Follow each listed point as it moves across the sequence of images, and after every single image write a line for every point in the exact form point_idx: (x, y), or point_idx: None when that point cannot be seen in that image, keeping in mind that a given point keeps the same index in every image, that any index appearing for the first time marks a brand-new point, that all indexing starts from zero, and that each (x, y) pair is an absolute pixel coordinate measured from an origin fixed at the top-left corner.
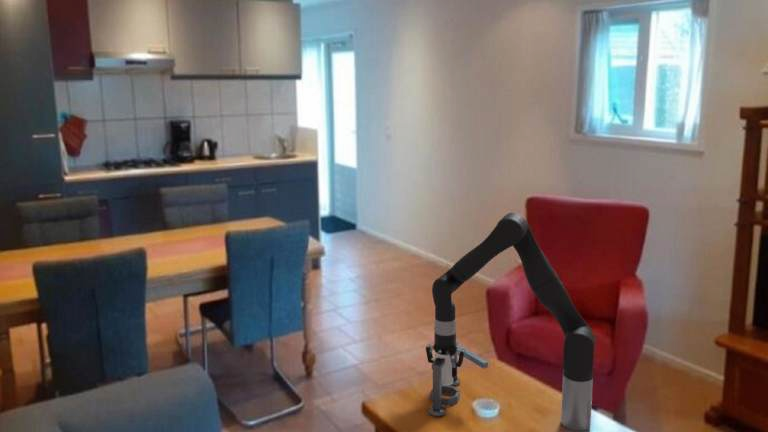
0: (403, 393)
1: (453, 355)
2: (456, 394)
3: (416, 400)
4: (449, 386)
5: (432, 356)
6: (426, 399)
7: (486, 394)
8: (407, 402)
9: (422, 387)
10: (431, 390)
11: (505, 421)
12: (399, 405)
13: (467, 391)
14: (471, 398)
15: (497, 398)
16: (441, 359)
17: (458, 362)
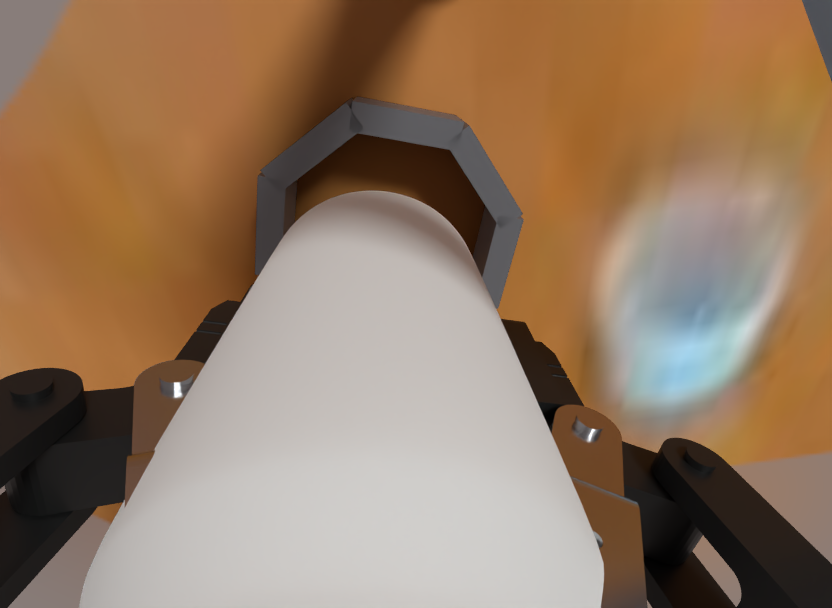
0: (14, 196)
1: (610, 581)
2: (490, 277)
3: (171, 290)
4: (419, 132)
5: (23, 453)
6: (243, 264)
7: (745, 104)
8: (116, 326)
9: (136, 45)
10: (258, 238)
11: (759, 432)
12: (79, 371)
13: (583, 68)
14: (602, 196)
15: (816, 164)
16: None
17: (660, 604)
